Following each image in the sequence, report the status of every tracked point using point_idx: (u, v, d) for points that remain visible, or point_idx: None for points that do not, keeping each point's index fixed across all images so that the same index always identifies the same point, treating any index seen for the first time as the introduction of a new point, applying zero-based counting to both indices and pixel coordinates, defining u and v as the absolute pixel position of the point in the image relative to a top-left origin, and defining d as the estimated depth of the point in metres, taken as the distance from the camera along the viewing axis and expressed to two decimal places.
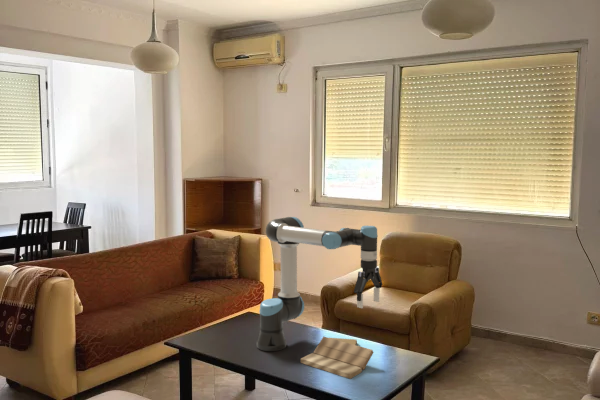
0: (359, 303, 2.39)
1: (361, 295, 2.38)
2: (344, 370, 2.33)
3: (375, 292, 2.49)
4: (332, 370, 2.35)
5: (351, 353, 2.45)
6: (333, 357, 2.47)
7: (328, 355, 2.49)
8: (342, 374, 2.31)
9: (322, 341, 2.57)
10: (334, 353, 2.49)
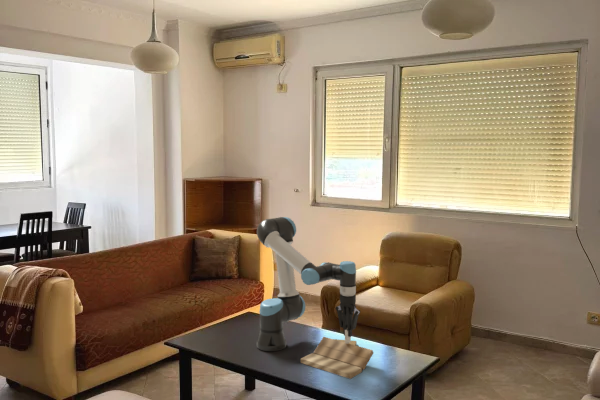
0: None
1: (345, 330, 2.50)
2: (344, 370, 2.33)
3: None
4: (332, 370, 2.35)
5: (351, 353, 2.45)
6: (333, 357, 2.47)
7: (328, 355, 2.49)
8: (342, 374, 2.31)
9: (322, 341, 2.57)
10: (334, 353, 2.49)
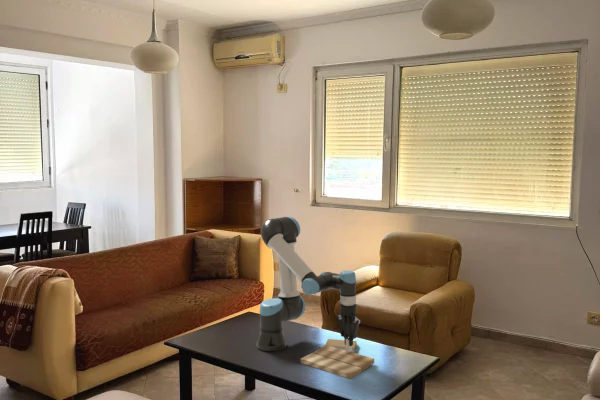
0: None
1: (346, 340, 2.51)
2: (344, 370, 2.33)
3: None
4: (332, 370, 2.35)
5: (352, 357, 2.46)
6: (333, 358, 2.47)
7: (328, 356, 2.49)
8: (342, 374, 2.31)
9: (323, 347, 2.58)
10: (334, 355, 2.49)
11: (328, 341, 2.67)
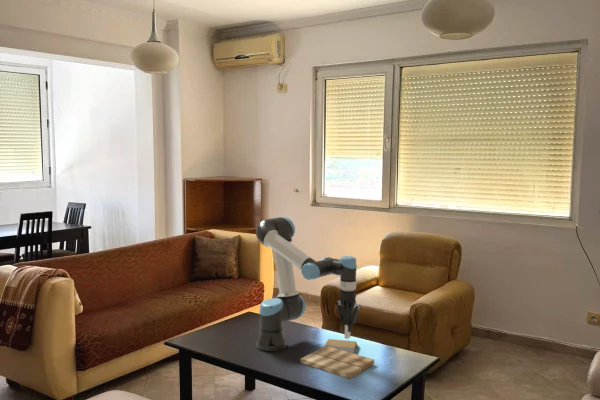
0: None
1: (345, 325, 2.50)
2: (344, 370, 2.33)
3: None
4: (332, 370, 2.35)
5: (352, 358, 2.46)
6: (333, 358, 2.47)
7: (328, 356, 2.49)
8: (342, 374, 2.31)
9: (324, 348, 2.59)
10: (334, 355, 2.49)
11: (328, 341, 2.67)
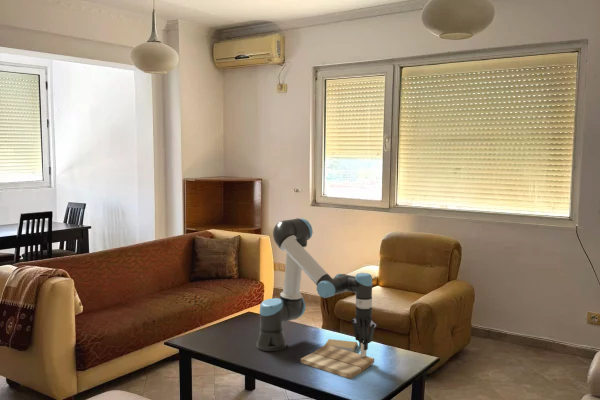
0: None
1: (361, 344, 2.45)
2: (344, 370, 2.33)
3: None
4: (332, 370, 2.35)
5: (352, 357, 2.46)
6: (333, 358, 2.47)
7: (328, 356, 2.49)
8: (342, 374, 2.31)
9: (323, 347, 2.58)
10: (334, 355, 2.49)
11: (328, 341, 2.67)
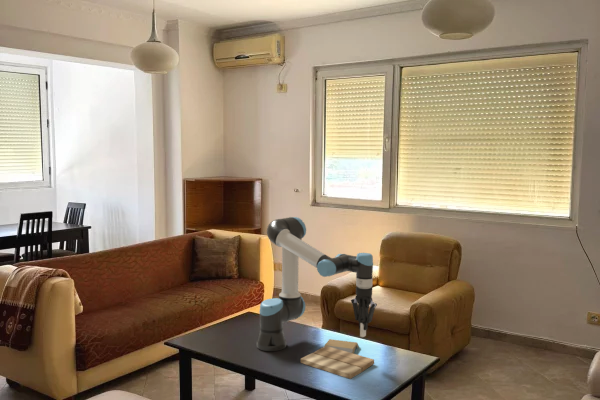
0: None
1: None
2: (344, 370, 2.33)
3: None
4: (332, 370, 2.35)
5: (352, 358, 2.46)
6: (333, 358, 2.47)
7: (328, 356, 2.49)
8: (342, 374, 2.31)
9: (324, 348, 2.59)
10: (334, 356, 2.49)
11: (329, 341, 2.66)
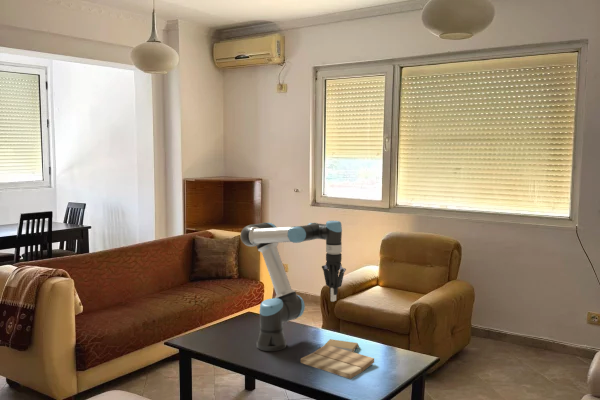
0: None
1: (331, 289, 2.55)
2: (344, 370, 2.33)
3: None
4: (332, 370, 2.35)
5: (352, 357, 2.46)
6: (333, 358, 2.47)
7: (328, 356, 2.49)
8: (342, 374, 2.31)
9: (323, 347, 2.58)
10: (334, 355, 2.49)
11: (329, 341, 2.67)
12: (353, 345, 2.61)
